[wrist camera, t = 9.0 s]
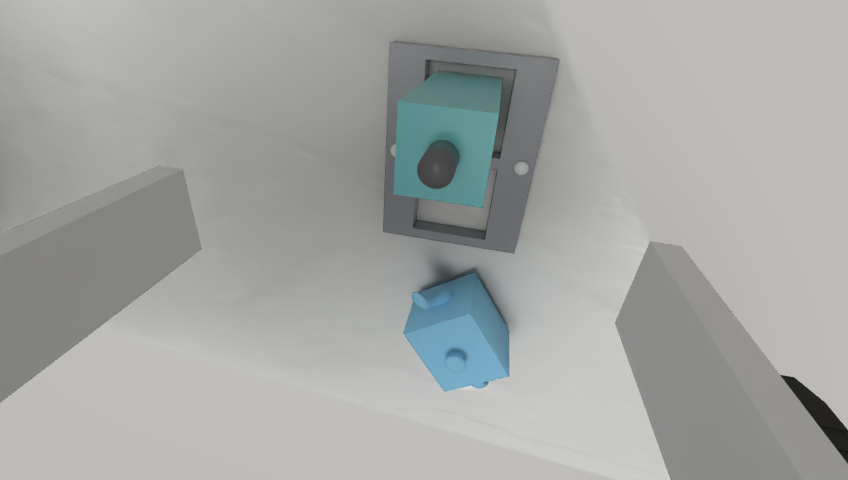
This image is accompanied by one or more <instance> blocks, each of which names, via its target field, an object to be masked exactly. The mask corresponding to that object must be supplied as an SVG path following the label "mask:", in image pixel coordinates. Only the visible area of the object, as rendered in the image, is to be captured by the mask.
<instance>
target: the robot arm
mask: <svg viewBox="0 0 848 480" xmlns="http://www.w3.org/2000/svg"><path fill="white" fill-rule="evenodd" d="M200 250H201V245H200V240H199V236H198V232H197V228H196V223H195V219H194V215H193V211H192V207H191V202H190V198H189V194H188V190H187V185H186V181H185V177H184V173H183V169H177V168H171V167H164V166H157V167H155V168H153V169H150V170H148V171H146V172H143V173H141V174H139V175H136V176H134V177H132V178H129V179H127V180H125V181H122V182H120V183H118V184H115V185H113V186H111V187H108V188H106V189H104V190H101V191H99V192H97V193H94V194H92V195H90V196H87V197H85V198H83V199H80V200H78V201H76V202H73V203H71V204H69V205H66V206H64V207H62V208H60V209H57V210H55V211H53V212H50V213H48V214H46V215H43V216H41V217H39V218H36V219H34V220H32V221H29V222H27V223H25V224H22V225H20V226H18V227H15V228H13V229H11V230H8V231H6V232H4V233H1V234H0V402H2V401H3V400H4V399H6V398H7V397H8V396H9V395H11V394H12V393H14V392H15V391H16V390H17V389H19V388H20V387H21V386H23V385H24V384H25V383H27V382H28V381H29V380H30V379H32V378H33V377H34V376H36V375H37V374H38V373H40V372H41V371H42V370H43V369H45V368H46V367H47V366H49V365H50V364H52V363H53V362H54V361H55V360H57V359H58V358H59V357H61V356H62V355H63V354H65V353H66V352H67V351H69V350H70V349H71V348H72V347H74V346H75V345H76V344H78V343H79V342H80V341H82V340H83V339H84V338H85V337H87V336H88V335H90V334H91V333H92V332H93V331H95V330H96V329H97V328H99V327H100V326H101V325H103V324H104V323H105V322H107V321H108V320H109V319H110V318H112V317H113V316H114V315H116V314H117V313H118V312H120V311H121V310H122V309H124V308H125V307H126V306H128V305H129V304H130V303H131V302H133V301H134V300H135V299H137V298H138V297H139V296H141V295H142V294H143V293H145V292H146V291H147V290H149V289H150V288H151V287H152V286H154V285H155V284H156V283H158V282H159V281H160V280H162V279H163V278H164V277H166V276H167V275H168V274H169V273H171V272H172V271H173V270H175V269H176V268H177V267H179V266H180V265H181V264H183V263H184V262H185V261H187V260H188V259H189V258H190V257H192V256H193V255H194V254H196V253H197V252H198V251H200ZM615 324H616V327H617V330H618V332H619V335H620V338H621V341H622V344H623V346H624V349H625V352H626V355H627V358H628V361H629V363H630V366H631V369H632V372H633V375H634V377H635V380H636V383H637V386H638V389H639V392H640V394H641V397H642V400H643V403H644V406H645V408H646V411H647V414H648V417H649V420H650V423H651V425H652V428H653V431H654V434H655V437H656V440H657V442H658V445H659V448H660V451H661V454H662V456H663V459H664V462H665V465H666V468H667V471H668V473H669V476H670V479H671V480H848V430H847V428H845V426H844V425H843V424H842V423H841V421H840V420H839V419H838V418H837V416H836V415H835V414H834V413H833V412H832V410H831V409H830V408H829V407H828V405H827V404H826V403H825V402H824V401H822V400H821V399H820V398H819V397H818V396H816V395H815V394H814V393H813V392H811V391H810V390H809V389H808V388H806V387H805V386H804V385H803V384H802V383H800V382H799V381H798V380H797V379H795V378H794V377H789V376H783V375H780V374H779V373H778V372H777V370H776V369H775V368H774V367H773V365H772V364H771V363H770V361H769V360H768V359H767V357H766V356H765V355H764V353H763V352H762V351H761V350H760V348H759V347H758V346H757V344H756V343H755V342H754V341H753V339H752V338H751V336H750V335H749V334H748V332H747V331H746V330H745V329H744V327H743V326H742V325H741V323H740V322H739V321H738V319H737V318H736V317H735V316H734V314H733V313H732V311H731V310H730V309H729V308H728V306H727V305H726V304H725V302H724V301H723V300H722V298H721V297H720V296H719V294H718V293H717V292H716V290H715V289H714V288H713V287H712V285H711V284H710V283H709V281H708V280H707V279H706V277H705V276H704V275H703V274H702V272H701V271H700V269H698V267H697V266H696V264H695V263H694V262H693V260H692V259H691V258H690V257H689V255H688V254H687V252H686V251H685V250H684V249H683V247H682V246H677V245H671V244H664V243H658V242H651V241H650V243H649V245H648V248H647V250H646V252H645V254H644V257H643V259H642V261H641V264H640V266H639V268H638V271H637V273H636V275H635V278H634V280H633V282H632V285H631V287H630V289H629V292H628V294H627V296H626V298H625V301H624V303H623V305H622V308H621V310H620V312H619V315H618V317H617V319H616V322H615Z"/></svg>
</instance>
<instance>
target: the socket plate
mask: <svg viewBox="0 0 848 480" xmlns="http://www.w3.org/2000/svg"><path fill="white" fill-rule="evenodd" d="M429 60H434V61H443V62H452V63H461V64H470V65H479V66H488V67H497V68H506V69H515V70H516V72H515V77H514V83H513V88H512V94H511V99H510V104H509V110H508V115H507V120H506V126H505V131H504V137H503V142H502V147H501V153H497V152H492V158H491V164H490V169H497V174H496V180H495V185H494V191H493V196H492V201H491V207H490V212H489V218H488V223H487V228H486V231H480V230H474V229H468V228H462V227H455V226H449V225H443V224H437V223H430V222H424V221H418V220H416V217H417V205H418V198H415V197H409V196H402V195H396V194H393V193H394V172H395V151H396V130H397V110H398V101H399V100H400V99H401V98H403V97H404V96H405V95H407V94H408V93H409V92H411V91H412V90H413V89H415V88H416V87H417V86H419V85H420V84H421V83H423V82H424V81H425V80H427V79H428V72H429ZM558 64H559V60H558V59H557V58H549V57H540V56H530V55H521V54H512V53H502V52H493V51H484V50H474V49H465V48H456V47H446V46H437V45H428V44H418V43H409V42H400V41H393V42H390V50H389V78H388V107H387V135H386V164H385V192H384V220H383V232H388V233H394V234H400V235H406V236H412V237H418V238H424V239H430V240H436V241H442V242H448V243H454V244H460V245H466V246H472V247H478V248H484V249H490V250H496V251H502V252H508V253H514V252H515V248H516V244H517V239H518V235H519V231H520V226H521V222H522V218H523V214H524V209H525V205H526V201H527V197H528V192H529V188H530V184H531V179H532V175H533V171H534V167H535V162H536V158H537V154H538V150H539V145H540V141H541V137H542V132H543V128H544V124H545V120H546V115H547V111H548V107H549V103H550V98H551V94H552V90H553V86H554V81H555V77H556V73H557V68H558Z"/></svg>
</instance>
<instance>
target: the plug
mask: <svg viewBox="0 0 848 480" xmlns="http://www.w3.org/2000/svg"><path fill="white" fill-rule="evenodd" d="M502 80H503V78H501V77H493V76H484V75H475V74H466V73H458V72H449V71H440V70H439V71H437V72H436V73H435V74H433V75H432V76H431V77H429V78H428V79H427V80H425V81H424V82H423V83H421V84H420V85H419V86H417V87H416V88H415V89H413V90H412V91H411V92H409V93H408V94H407V95H405V96H404V97H403V98H401V99H400V100H399V101H398V110H397V130H396V151H395V172H394V193H393V194H396V195H402V196H409V197H415V198H422V199H428V200H435V201H441V202H448V203H454V204H461V205H467V206H474V207H480V208H483V204H484V198H485V192H486V187H487V181H488V175H489V170H490V164H491V158H492V152H493V147H494V141H495V135H496V130H497V124H498V118H499V111H500V101H501V91H502Z"/></svg>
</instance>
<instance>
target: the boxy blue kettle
mask: <svg viewBox="0 0 848 480" xmlns="http://www.w3.org/2000/svg"><path fill="white" fill-rule="evenodd" d="M412 298H413V300H414V302H413V305H412V308H411V311H410V314H409V317H408V320H407V323H406V326H405V329H404V332H403V333H404V335H405V337H406V338H407V340H408V341H409V342H410V344H411V345H412V347H413V348H414V350H415V351H416V353H417V354H418V355H419V357H420V358H421V360H422V361H423V363H424V364H425V365H426V367H427V368H428V370H429V371H430V372H431V374H432V375H433V377H434V378H435V379H436V381H437V382H438V384H439V385H440V386H441V388H442V389H443V390H444V392H445V391H449V390H453V389H457V388H462V387H466V386H470V385H472V386H473V387H475V388H483V387H485V386H487V384H488V382H489V381H491V380H495V379H499V378H504V377H508V376H509V330H508V328H507V326H506V325H505V323H504V321H503V319H502V318H501V316H500V314H499V312H498V311H497V309H496V307H495V305H494V304H493V302H492V300H491V298H490V297H489V295H488V293H487V291H486V290H485V288H484V286H483V285H482V283H481V281H480V279H479V278H478V276H477V274H476V272H474V273H471V274H469V275H466V276H463V277H460V278H457V279H455V280H452V281H449V282H446V283H443V284H441V285H438V286H435V287H432V288H429V289H427V290H424V291H421V292H418V293H417V292H413V293H412Z"/></svg>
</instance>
